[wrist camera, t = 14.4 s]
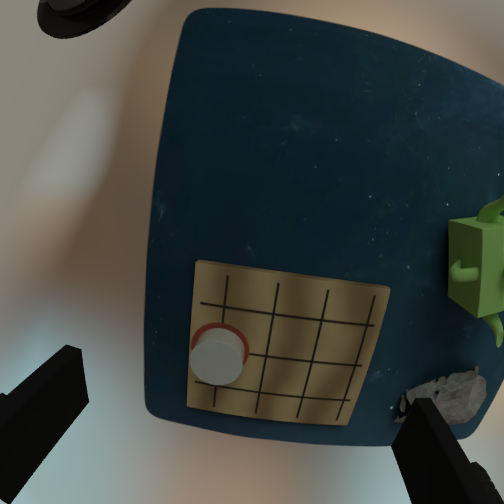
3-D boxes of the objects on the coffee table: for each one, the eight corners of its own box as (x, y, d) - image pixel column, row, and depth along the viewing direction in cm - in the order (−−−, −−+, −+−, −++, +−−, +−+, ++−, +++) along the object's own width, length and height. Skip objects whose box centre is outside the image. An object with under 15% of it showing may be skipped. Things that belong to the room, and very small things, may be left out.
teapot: (465, 320, 39) (504, 352, 28) (408, 273, 38) (446, 301, 28) (517, 236, 36) (563, 250, 25) (466, 178, 35) (515, 180, 24)
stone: (441, 331, 43) (384, 400, 47) (452, 352, 35) (382, 428, 39) (499, 375, 39) (443, 437, 43) (514, 399, 31) (448, 466, 35)
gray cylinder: (194, 366, 41) (188, 380, 38) (197, 324, 40) (190, 336, 36) (241, 374, 41) (239, 389, 37) (248, 332, 39) (245, 345, 36)
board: (189, 400, 44) (186, 406, 43) (198, 259, 40) (195, 262, 38) (345, 419, 43) (347, 425, 42) (387, 285, 39) (391, 289, 37)
